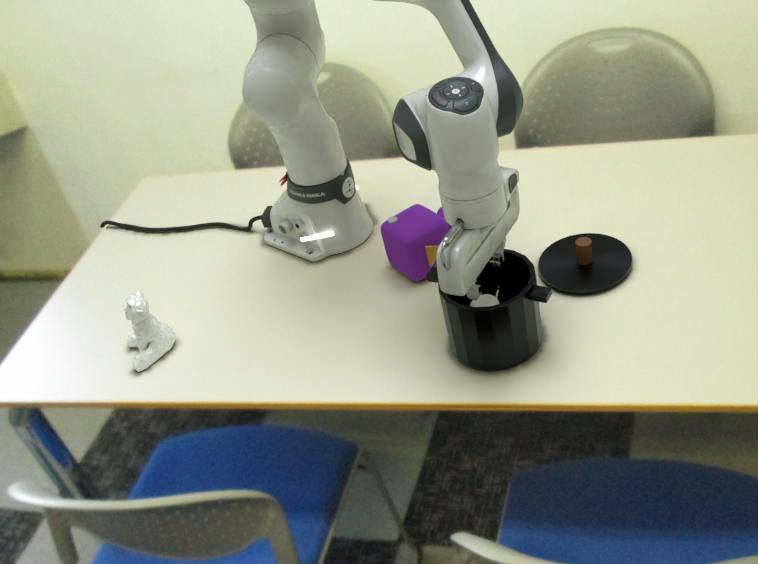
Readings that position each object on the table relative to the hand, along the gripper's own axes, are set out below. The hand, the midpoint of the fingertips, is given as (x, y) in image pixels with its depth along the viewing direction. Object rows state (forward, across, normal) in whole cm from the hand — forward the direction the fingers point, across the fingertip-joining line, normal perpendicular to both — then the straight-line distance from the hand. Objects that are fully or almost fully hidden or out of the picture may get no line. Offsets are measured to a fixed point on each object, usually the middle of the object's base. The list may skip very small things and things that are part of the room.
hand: (486, 279), depth 120 cm
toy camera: (+12, +16, +21) cm, 29 cm away
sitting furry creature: (+12, -20, +58) cm, 62 cm away
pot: (+12, 0, 0) cm, 12 cm away
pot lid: (+12, +21, -7) cm, 25 cm away
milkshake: (+12, 0, 0) cm, 12 cm away
